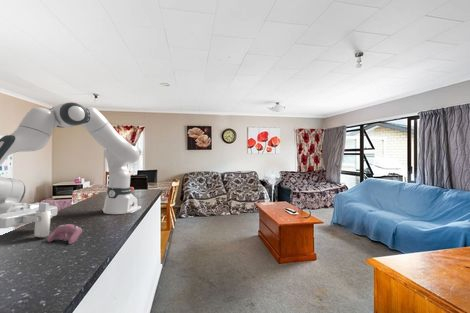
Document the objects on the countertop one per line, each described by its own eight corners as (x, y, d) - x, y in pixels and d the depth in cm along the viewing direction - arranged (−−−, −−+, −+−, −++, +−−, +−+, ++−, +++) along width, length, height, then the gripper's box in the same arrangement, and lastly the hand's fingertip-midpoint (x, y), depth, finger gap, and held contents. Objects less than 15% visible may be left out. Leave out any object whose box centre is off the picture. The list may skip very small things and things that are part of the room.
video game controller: (78, 245, 83) (86, 226, 86) (69, 244, 79) (78, 223, 82) (54, 243, 84) (62, 224, 87) (44, 241, 80) (53, 221, 83)
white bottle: (40, 233, 86) (42, 201, 86) (51, 234, 85) (53, 202, 85) (31, 235, 83) (34, 203, 83) (43, 237, 82) (45, 204, 82)
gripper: (-20, 212, 76) (14, 216, 74) (40, 201, 96) (69, 204, 94) (-22, 230, 76) (13, 235, 74) (39, 216, 96) (68, 219, 94)
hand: (45, 217), depth 84 cm, fingers closed on white bottle, 3 cm apart
